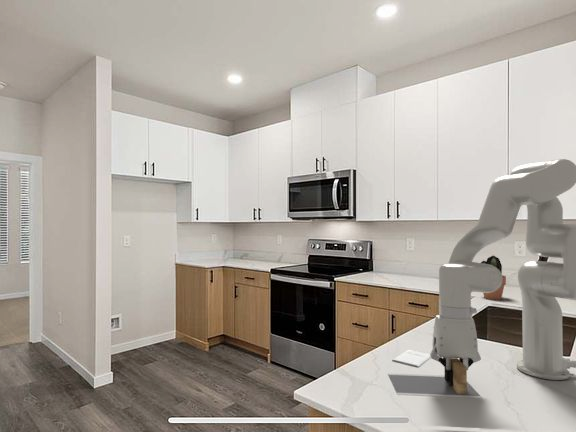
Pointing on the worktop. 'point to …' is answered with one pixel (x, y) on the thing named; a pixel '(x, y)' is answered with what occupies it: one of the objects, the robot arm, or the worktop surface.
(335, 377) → the worktop surface
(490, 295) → the potted plant
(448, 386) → the mat
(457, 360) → the wooden block
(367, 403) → the worktop surface
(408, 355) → the external hard drive
